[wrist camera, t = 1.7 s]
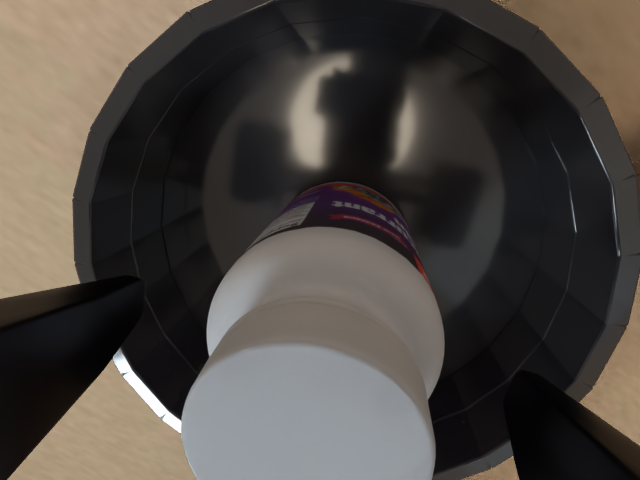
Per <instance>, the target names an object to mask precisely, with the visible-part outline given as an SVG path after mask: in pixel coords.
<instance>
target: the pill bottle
mask: <svg viewBox="0 0 640 480" xmlns="http://www.w3.org/2000/svg"><path fill="white" fill-rule="evenodd" d="M207 346H208V353H209V359H208V360H207V362H206V364H205V365H204V367H203V369H202V370H201V372H200V374H199V375H198V377H197V379H196V380H195V382H194V384H193V385H192V387H191V389H190V391H189V394H188V396H187V398H186V401H185V404H184V408H183V413H182V418H181V437H182V443H183V447H184V451H185V454H186V458H187V461H188V463H189V465H190V467H191V469H192V471H193V473H194V475H195V476H196V478H197V479H198V480H432V476H433V471H434V467H435V458H436V446H435V437H434V431H433V426H432V421H431V416H430V411H429V406H428V399H429V397H430V395H431V394H432V392H433V390H434V388H435V386H436V384H437V381H438V378H439V376H440V372H441V368H442V365H443V358H444V346H445V341H444V329H443V323H442V318H441V315H440V311H439V307H438V304H437V301H436V298H435V295H434V293H433V290H432V288H431V285H430V283H429V280H428V278H427V275H426V273H425V270H424V267H423V264H422V262H421V259H420V257H419V254H418V251H417V249H416V246H415V244H414V241H413V238H412V236H411V233H410V231H409V228H408V226H407V224H406V222H405V220H404V218H403V217H402V215H401V214H400V212H399V211H398V209H397V208H396V207H395V206H394V205H393V204H392V203H391V202H390V201H389V200H388V199H387V198H386V197H384V196H383V195H381V194H380V193H378V192H377V191H375V190H373V189H371V188H369V187H367V186H364V185H361V184H357V183H351V182H330V183H324V184H321V185H318V186H315V187H312V188H310V189H308V190H306V191H305V192H303V193H302V194H300V195H299V196H297V197H296V198H295V199H294V200H293V201H291V202H290V203H289V204H288V205H287V206H286V207H285V209H284V210H283V211H282V212H281V213H280V214H279V215H278V216H277V217H276V218H275V219H274V220H273V221H272V222H271V224H270V225H269V226H268V227H267V228H266V229H265V230H264V231H263V232H262V233H261V234H260V235H259V237H258V238H257V239H256V240H255V241H254V242H253V243H252V244H251V245H250V247H249V248H248V249H247V250H246V251H245V252H244V253H243V254H242V255H241V256H240V258H239V259H238V260H237V261H236V262H235V263H234V265H233V266H232V267H231V269H230V270H229V271H228V272H227V274H226V275H225V277H224V278H223V280H222V281H221V283H220V285H219V286H218V288H217V290H216V292H215V294H214V297H213V300H212V303H211V306H210V310H209V314H208V321H207Z"/></svg>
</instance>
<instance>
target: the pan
mask: <svg viewBox="0 0 640 480" xmlns="http://www.w3.org/2000/svg"><path fill="white" fill-rule="evenodd" d="M90 130H91V131H90V132H89V134H88V138H87V141H86V145H85V149H84V153H83V157H82V161H81V165H80V169H79V173H78V177H77V181H76V185H75V189H74V193H73V197H74V198H73V200H72V201H73V237H74V261H75V262H76V263H75V267H76V271H77V274H78V278H79V281H80V284H81V283H87V282H92V281H97V280H102V279H108V278H113V277H118V276H123V275H129V276H134V277H138V278H141V279H143V281H144V283H145V294H144V310H143V314H142V316H141V318H140V320H139V321H138V323H137V324H136V326H135V327H134V328H133V330H132V331H131V333H130V334H129V335H128V337H127V338H126V340H125V341H124V342H123V344H122V345H121V347H120V348H119V349H118V351H117V352H116V354H115V355H114V356H113V358H112V360H113V362H114V364H115V365H116V367H117V369H118V371H119V372H120V374H122V377H123V378H124V379H125V380H126V381H127V382H128V383H129V384H130V385H131V387H132V388H133V389H134V390H135V391H136V392H137V393H138V394H139V395H140V397H141V398H142V399H143V400H144V401H145V402H146V403H147V404H148V406H149V407H150V408H151V409H152V410H153V411H154V412H155V413H156V414H157V416H158V417H160V418H161V420H163V421H164V422H165V423H167V424H168V425H169V426H171V427H172V428H174V429H175V430H176V431H178V432H179V433H180V434H181V418H182V413H183V408H184V404H185V401H186V398H187V396H188V394H189V391H190V389H191V387H192V385H193V384H194V382H195V380H196V379H197V377H198V375H199V374H200V372H201V370H202V369H203V367H204V365H205V364H206V362H207V360H208V359H209V353H208V346H207V321H208V314H209V310H210V306H211V303H212V300H213V297H214V294H215V292H216V290H217V288H218V286H219V285H220V283H221V281H222V280H223V278H224V277H225V275H226V274H227V272H228V271H229V270H230V269H231V267H232V266H233V265H234V263H235V262H236V261H237V260H238V259H239V258H240V256H241V255H242V254H243V253H244V252H245V251H246V250H247V249H248V248H249V247H250V245H251V244H252V243H253V242H254V241H255V240H256V239H257V238H258V237H259V235H260V234H261V233H262V232H263V231H264V230H265V229H266V228H267V227H268V226H269V225H270V224H271V222H272V221H273V220H274V219H275V218H276V217H277V216H278V215H279V214H280V213H281V212H282V211H283V210H284V209H285V207H286V206H287V205H288V204H289V203H290V202H291V201H293V200H294V199H295V198H296V197H297V196H299V195H300V194H302V193H303V192H305V191H306V190H308V189H310V188H312V187H315V186H318V185H321V184H324V183H330V182H351V183H357V184H361V185H364V186H367V187H369V188H371V189H373V190H375V191H377V192H378V193H380V194H381V195H383V196H384V197H386V198H387V199H388V200H389V201H390V202H391V203H392V204H393V205H394V206H395V207H396V208H397V209H398V211H399V212H400V214H401V215H402V217H403V218H404V220H405V222H406V224H407V226H408V228H409V231H410V233H411V236H412V238H413V241H414V244H415V246H416V249H417V251H418V254H419V257H420V259H421V262H422V264H423V267H424V270H425V273H426V275H427V278H428V280H429V283H430V285H431V288H432V290H433V293H434V295H435V298H436V301H437V304H438V307H439V311H440V315H441V318H442V323H443V329H444V341H445V346H444V358H443V365H442V368H441V372H440V376H439V378H438V381H437V384H436V386H435V388H434V390H433V392H432V394H431V395H430V397H429V399H428V406H429V411H430V416H431V421H432V426H433V431H434V437H435V446H436V458H435V467H434V471H433V476H432V480H460V479H463V478H466V477H469V476H472V475H475V474H477V473H480V472H483V471H486V470H489V469H491V467H492V468H493V467H495V466H497V465H498V464H500V463H502V462H503V461H505V460H507V459H508V458H510V457H511V456H513V451H512V446H511V442H510V437H509V433H508V428H507V423H506V419H505V414H504V410H503V399H504V396H505V394H506V392H507V389H508V387H509V385H510V383H511V381H512V379H513V377H514V375H515V373H516V372H517V371H519V370H525V371H529V372H534V373H537V374H539V375H541V376H542V377H543V378H545V379H546V380H548V381H549V382H551V383H552V384H553V385H555V386H556V387H558V388H559V389H560V390H562V391H563V392H565V393H566V394H567V395H569V396H570V397H572V398H573V399H574V400H576V401H577V402H580V401H581V400H582V399H583V398H584V397H585V396H586V395H587V394H588V393H589V392H590V391H591V389H592V388H593V387H592V386H594V385H595V383H596V381H597V380H598V378H599V376H600V374H601V373H602V371H603V369H604V367H605V365H606V364H607V362H608V360H609V358H610V356H611V355H612V353H613V351H614V349H615V348H616V346H617V344H618V342H619V340H620V339H621V337H622V335H623V333H624V332H625V330H626V326H627V325H628V323H629V318H630V314H631V309H632V305H633V301H634V296H635V292H636V287H637V283H638V278H639V274H640V207H639V196H638V185H637V177H636V175H635V174H636V171H635V169H634V167H633V164H632V162H631V160H630V158H629V155H628V153H627V151H626V148H625V146H624V144H623V142H622V139H621V137H620V135H619V133H618V130H617V128H616V126H615V124H614V121H613V119H612V117H611V115H610V112H609V110H608V108H607V105H606V103H605V101H604V99H603V97H602V96H600V93H599V92H598V91H597V90H596V89H595V88H594V87H593V86H592V85H591V83H590V82H589V81H588V80H587V79H586V78H585V77H584V76H583V75H582V74H581V73H580V71H579V70H578V69H577V68H576V67H575V66H574V65H573V64H572V63H571V62H570V61H569V59H568V58H567V57H566V56H565V55H564V54H563V53H562V52H561V51H560V50H559V49H558V47H557V46H556V45H555V44H554V43H553V42H552V41H551V40H550V39H549V38H548V37H547V35H546V34H545V33H544V32H543V31H542V30H539V27H538V26H536V25H534V24H532V23H531V22H529V21H527V20H525V19H523V18H522V17H520V16H518V15H516V14H514V13H513V12H511V11H509V10H507V9H505V8H504V7H502V6H500V5H498V4H496V3H495V2H493V1H491V0H211V1H209V2H207V3H205V4H203V5H200V6H198V7H196V8H194V9H192V10H190V12H186V13H185V14H184V15H183V16H182V17H180V18H179V19H178V20H177V21H176V22H175V23H174V24H173V25H172V26H170V27H169V28H168V29H167V30H166V31H165V32H164V33H163V34H162V35H160V36H159V37H158V38H157V39H156V40H155V41H154V42H153V43H152V44H150V45H149V46H148V47H147V48H146V49H145V50H144V51H143V52H142V53H141V54H139V55H138V56H137V57H136V58H135V59H134V60H133V61H132V62H131V63H129V64H128V67H126V69H125V70H124V72H123V74H122V76H121V77H120V79H119V81H118V82H117V84H116V86H115V87H114V89H113V91H112V92H111V94H110V96H109V97H108V99H107V101H106V102H105V104H104V106H103V108H102V109H101V111H100V113H99V114H98V116H97V118H96V119H95V121H94V123H93V124H92V126H91V128H90Z"/></svg>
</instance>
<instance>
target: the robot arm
mask: <svg viewBox="0 0 640 480" xmlns="http://www.w3.org/2000/svg"><path fill="white" fill-rule="evenodd" d="M144 294H145V283H144V281H143V279H141V278H138V277H134V276H129V275H123V276H118V277H113V278H108V279H102V280H97V281H92V282H87V283H81V284H76V285H71V286H66V287H61V288H55V289H50V290H45V291H40V292H34V293H29V294H24V295H19V296H14V297H8V298H3V299H0V480H7V479H8V478H9V477H10V476H11V474H12V473H13V472H14V471H15V470H16V469H17V468H18V467H19V465H20V464H21V463H22V462H23V461H24V460H25V459H26V457H27V456H28V455H29V454H30V453H31V452H32V451H33V450H34V448H35V447H36V446H37V445H38V444H39V443H40V442H41V440H42V439H43V438H44V437H45V436H46V435H47V434H48V433H49V431H50V430H51V429H52V428H53V427H54V426H55V425H56V423H57V422H58V421H59V420H60V419H61V418H62V417H63V416H64V414H65V413H66V412H67V411H68V410H69V409H70V408H71V406H72V405H73V404H74V403H75V402H76V401H77V400H78V398H79V397H80V396H81V395H82V394H83V393H84V392H85V391H86V389H87V388H88V387H89V386H90V385H91V384H92V383H93V381H94V380H95V379H96V378H97V377H98V376H99V375H100V373H101V372H102V371H103V370H104V369H105V367H106V366H107V365H108V363H109V362H110V361H111V359H112V358H113V356H114V355H115V354H116V352H117V351H118V349H119V348H120V347H121V345H122V344H123V342H124V341H125V340H126V338H127V337H128V335H129V334H130V333H131V331H132V330H133V328H134V327H135V326H136V324H137V323H138V321H139V320H140V318H141V316H142V314H143V310H144ZM503 410H504V414H505V419H506V423H507V428H508V433H509V437H510V442H511V446H512V451H513V456H514V460H515V464H516V468H517V472H518V476H519V479H520V480H640V446H639V445H638V444H636V443H635V442H633V441H632V440H631V439H629V438H628V437H626V436H625V435H624V434H622V433H621V432H619V431H618V430H617V429H615V428H614V427H612V426H611V425H610V424H608V423H607V422H605V421H604V420H603V419H601V418H600V417H598V416H597V415H595V414H594V413H593V412H591V411H590V410H588V409H587V408H586V407H584V406H583V405H581V404H580V403H579V402H577V401H576V400H574V399H573V398H572V397H570V396H569V395H567V394H566V393H565V392H563V391H562V390H560V389H559V388H558V387H556V386H555V385H553V384H552V383H551V382H549V381H548V380H546V379H545V378H543V377H542V376H541V375H539V374H537V373H534V372H529V371H525V370H519V371H517V372H516V373H515V375H514V377H513V379H512V381H511V383H510V385H509V387H508V389H507V392H506V394H505V396H504V399H503Z"/></svg>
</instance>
